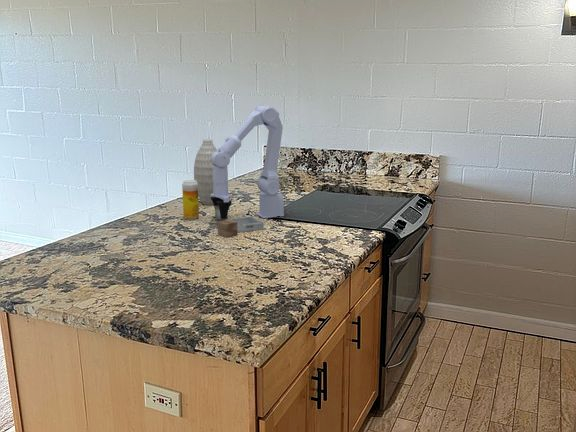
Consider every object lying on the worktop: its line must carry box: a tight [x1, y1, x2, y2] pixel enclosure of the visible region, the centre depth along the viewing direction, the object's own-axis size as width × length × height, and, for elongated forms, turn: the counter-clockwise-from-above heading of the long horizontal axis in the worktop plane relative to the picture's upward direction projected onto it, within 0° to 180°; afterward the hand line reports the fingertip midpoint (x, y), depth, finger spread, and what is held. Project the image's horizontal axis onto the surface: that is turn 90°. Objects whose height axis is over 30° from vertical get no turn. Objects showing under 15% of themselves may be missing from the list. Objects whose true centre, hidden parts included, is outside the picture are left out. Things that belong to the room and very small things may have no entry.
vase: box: [193, 138, 218, 206], centre depth 252 cm, size 13×13×28 cm
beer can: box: [181, 179, 200, 221], centre depth 229 cm, size 6×6×15 cm
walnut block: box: [217, 218, 239, 239], centre depth 208 cm, size 5×5×5 cm
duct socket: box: [226, 215, 264, 233], centre depth 218 cm, size 11×12×2 cm
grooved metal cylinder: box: [214, 205, 229, 223], centre depth 227 cm, size 5×5×6 cm
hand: (221, 216), depth 227 cm, fingers open, 6 cm apart
